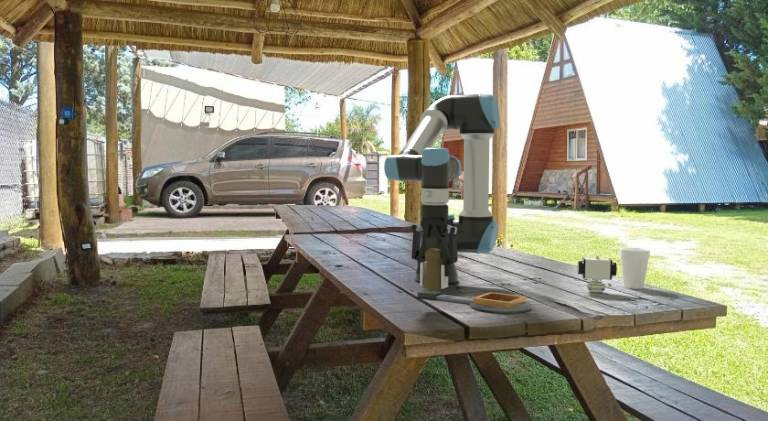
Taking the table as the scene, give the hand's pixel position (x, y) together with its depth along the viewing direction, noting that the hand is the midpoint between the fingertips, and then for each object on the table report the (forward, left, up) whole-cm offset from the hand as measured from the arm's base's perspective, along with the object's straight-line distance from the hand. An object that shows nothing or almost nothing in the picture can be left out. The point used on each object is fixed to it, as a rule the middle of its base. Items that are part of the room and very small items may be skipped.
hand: (433, 286), depth 176 cm
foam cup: (+38, +71, -7) cm, 81 cm away
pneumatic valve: (+30, +54, -7) cm, 63 cm away
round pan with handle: (+5, +13, -6) cm, 16 cm away
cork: (0, 0, -1) cm, 1 cm away
